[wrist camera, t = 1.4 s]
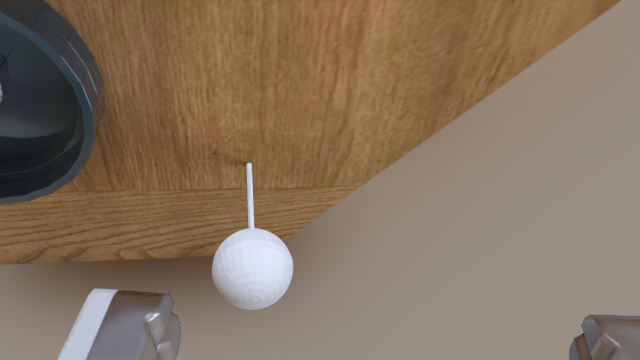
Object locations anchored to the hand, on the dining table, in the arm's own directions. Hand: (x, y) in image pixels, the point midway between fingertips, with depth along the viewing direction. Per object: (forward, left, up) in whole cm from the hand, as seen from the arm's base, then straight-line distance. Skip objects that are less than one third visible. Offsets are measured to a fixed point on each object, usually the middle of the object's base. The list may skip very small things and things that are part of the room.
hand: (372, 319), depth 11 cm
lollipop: (+12, -19, -33) cm, 40 cm away
